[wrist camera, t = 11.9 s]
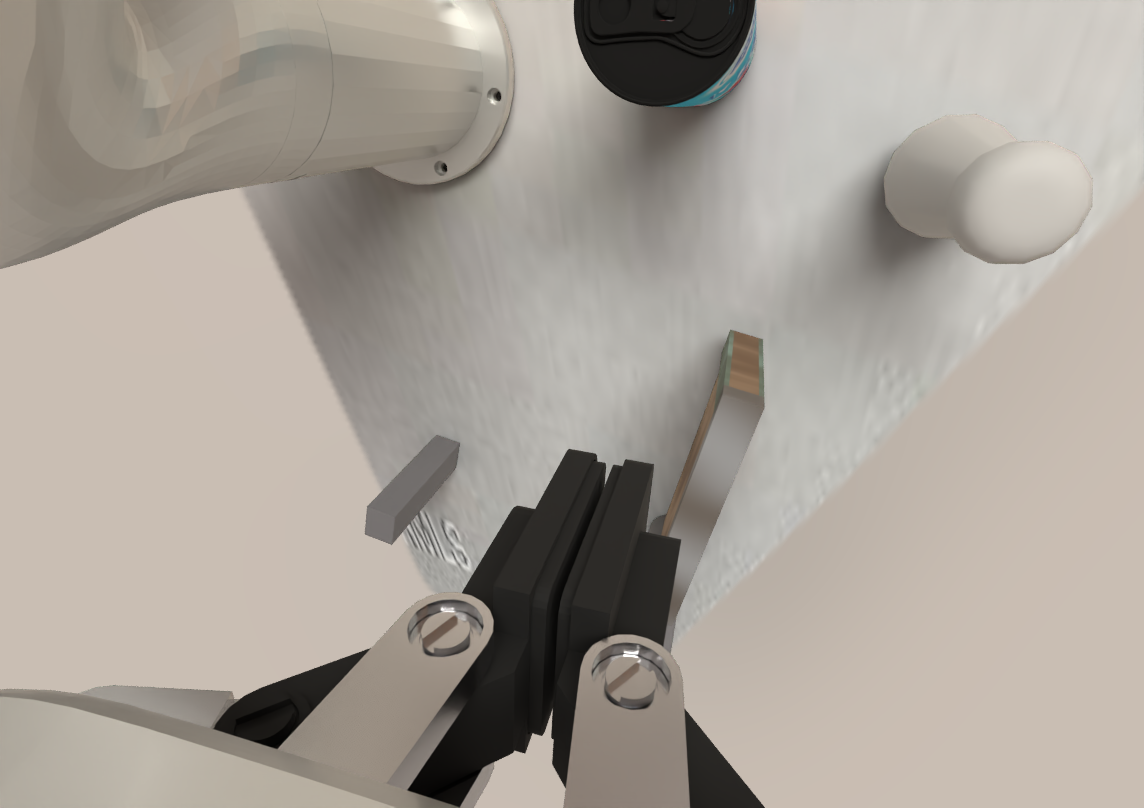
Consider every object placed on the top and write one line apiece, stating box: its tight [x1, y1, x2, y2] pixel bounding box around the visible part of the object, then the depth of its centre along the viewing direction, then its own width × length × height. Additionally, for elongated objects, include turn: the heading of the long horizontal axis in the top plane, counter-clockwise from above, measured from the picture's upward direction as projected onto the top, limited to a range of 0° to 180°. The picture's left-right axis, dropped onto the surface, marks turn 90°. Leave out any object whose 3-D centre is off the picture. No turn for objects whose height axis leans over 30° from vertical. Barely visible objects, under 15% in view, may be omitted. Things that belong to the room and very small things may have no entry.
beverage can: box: [574, 0, 756, 107], centre depth 27 cm, size 6×6×15 cm
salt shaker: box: [884, 114, 1093, 264], centre depth 27 cm, size 6×6×13 cm
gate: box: [661, 330, 764, 627], centre depth 37 cm, size 15×2×10 cm, turn 167°
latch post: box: [365, 435, 460, 545], centre depth 45 cm, size 2×2×10 cm
